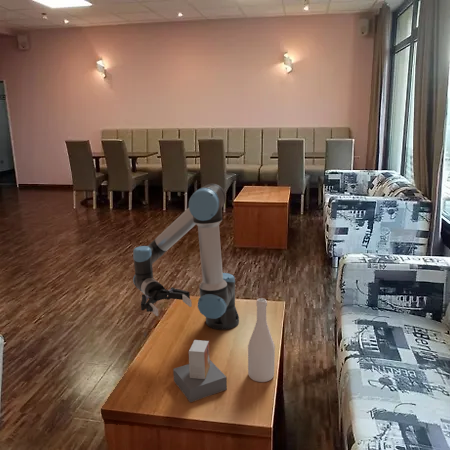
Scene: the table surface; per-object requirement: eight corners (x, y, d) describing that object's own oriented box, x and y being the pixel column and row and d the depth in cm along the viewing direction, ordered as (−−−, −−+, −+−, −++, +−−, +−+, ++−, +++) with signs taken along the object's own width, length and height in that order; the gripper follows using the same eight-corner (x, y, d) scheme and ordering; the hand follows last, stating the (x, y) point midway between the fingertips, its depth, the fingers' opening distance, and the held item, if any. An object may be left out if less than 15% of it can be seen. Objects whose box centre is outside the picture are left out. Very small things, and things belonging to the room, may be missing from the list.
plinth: (208, 369, 169) (208, 357, 167) (226, 389, 157) (226, 376, 155) (173, 381, 162) (173, 368, 161) (190, 402, 150) (189, 389, 149)
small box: (205, 380, 154) (204, 352, 151) (189, 378, 155) (188, 351, 152) (210, 366, 162) (209, 340, 159) (195, 365, 163) (194, 339, 160)
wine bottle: (244, 380, 162) (244, 303, 154) (252, 366, 171) (252, 292, 163) (270, 385, 159) (271, 307, 151) (276, 370, 167) (278, 296, 160)
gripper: (181, 291, 193) (204, 308, 175) (124, 305, 181) (143, 326, 163) (180, 274, 191) (203, 290, 173) (122, 288, 179) (141, 306, 161)
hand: (174, 307), depth 168 cm, fingers open, 13 cm apart
